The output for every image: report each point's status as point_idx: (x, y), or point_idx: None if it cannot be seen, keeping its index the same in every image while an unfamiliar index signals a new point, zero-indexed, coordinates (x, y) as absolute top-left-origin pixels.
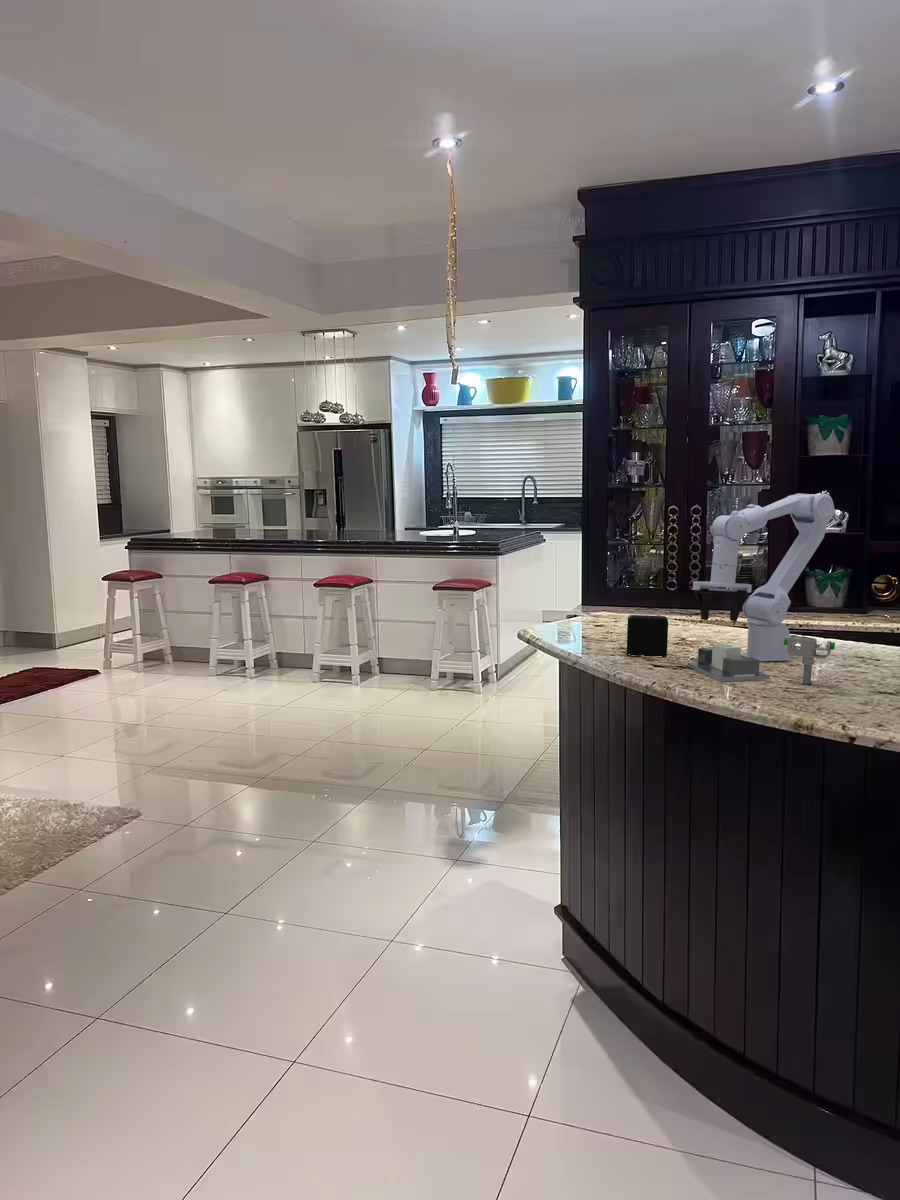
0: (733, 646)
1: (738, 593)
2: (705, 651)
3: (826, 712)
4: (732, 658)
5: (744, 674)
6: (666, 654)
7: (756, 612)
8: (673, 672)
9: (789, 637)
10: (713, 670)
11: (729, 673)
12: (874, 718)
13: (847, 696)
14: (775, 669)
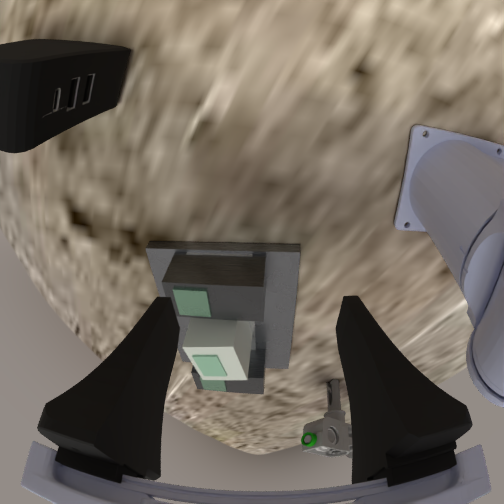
0: (232, 372)
1: (363, 478)
2: None
3: (255, 434)
4: (207, 383)
5: None
6: (114, 106)
7: (494, 318)
8: (108, 283)
9: (312, 448)
10: (187, 325)
11: None
12: (287, 443)
13: None
14: (374, 301)
